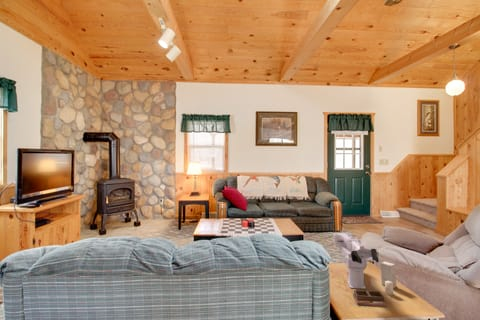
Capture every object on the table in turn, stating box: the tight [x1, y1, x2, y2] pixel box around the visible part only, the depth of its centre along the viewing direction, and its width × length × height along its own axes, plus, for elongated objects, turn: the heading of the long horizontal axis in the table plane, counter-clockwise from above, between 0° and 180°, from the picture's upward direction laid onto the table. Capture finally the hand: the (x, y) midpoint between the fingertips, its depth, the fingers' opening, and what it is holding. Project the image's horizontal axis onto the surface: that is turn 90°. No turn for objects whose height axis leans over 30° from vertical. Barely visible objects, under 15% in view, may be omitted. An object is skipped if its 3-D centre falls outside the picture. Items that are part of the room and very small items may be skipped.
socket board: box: [352, 289, 388, 307], centre depth 136 cm, size 9×13×3 cm
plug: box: [384, 281, 394, 296], centre depth 143 cm, size 4×4×6 cm
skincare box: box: [380, 261, 397, 289], centre depth 153 cm, size 6×4×12 cm
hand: (369, 260), depth 134 cm, fingers open, 7 cm apart
